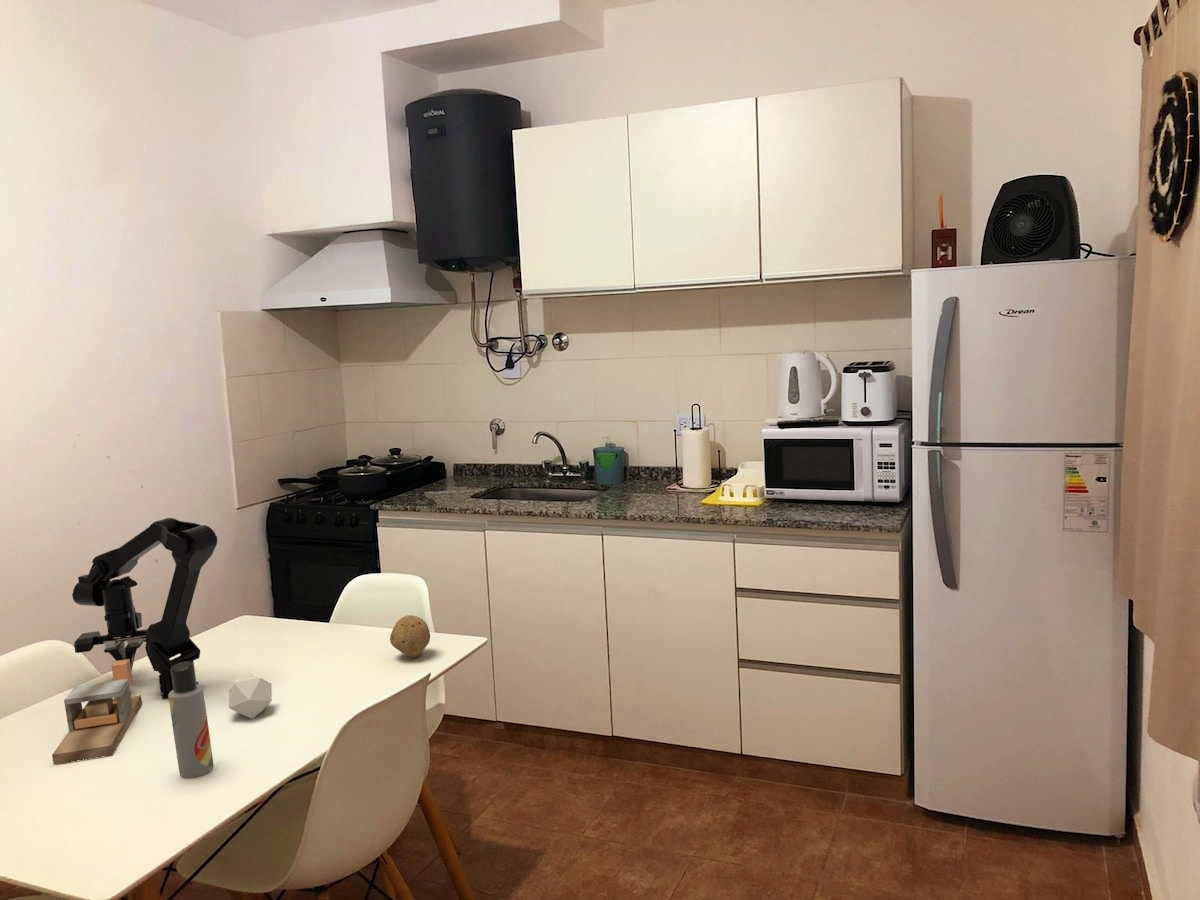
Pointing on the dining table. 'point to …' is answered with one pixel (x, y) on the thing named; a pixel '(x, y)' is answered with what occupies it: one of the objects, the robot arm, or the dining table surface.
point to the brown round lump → (410, 635)
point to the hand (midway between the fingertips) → (129, 673)
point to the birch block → (99, 708)
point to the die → (250, 695)
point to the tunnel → (102, 736)
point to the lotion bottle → (189, 722)
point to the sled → (120, 672)
